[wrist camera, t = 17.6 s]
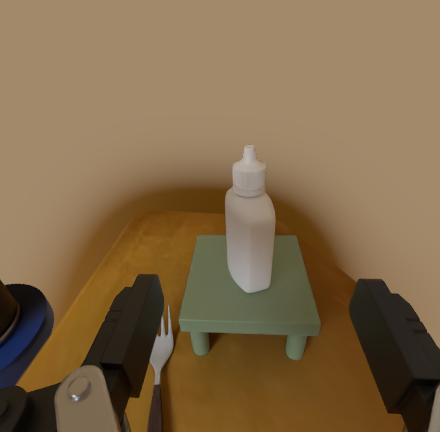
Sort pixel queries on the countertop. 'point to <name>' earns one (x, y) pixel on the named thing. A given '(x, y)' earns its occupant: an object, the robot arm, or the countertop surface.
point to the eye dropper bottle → (249, 224)
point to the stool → (248, 297)
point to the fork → (158, 360)
